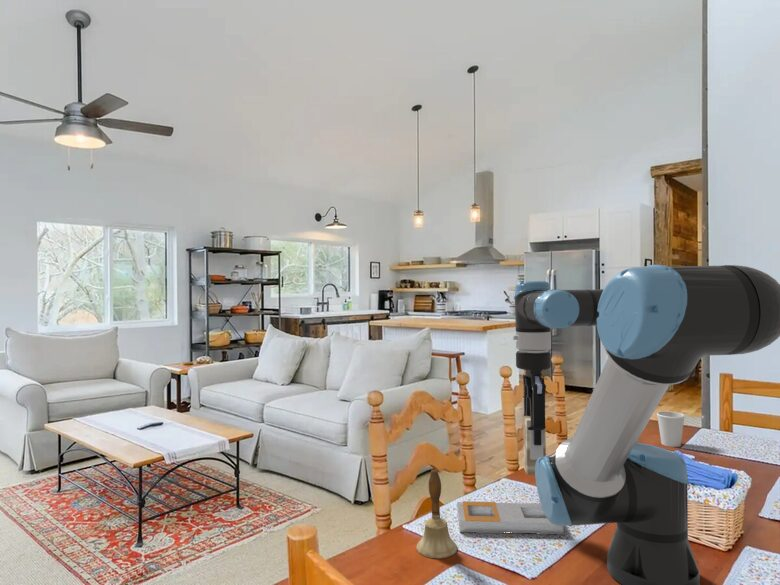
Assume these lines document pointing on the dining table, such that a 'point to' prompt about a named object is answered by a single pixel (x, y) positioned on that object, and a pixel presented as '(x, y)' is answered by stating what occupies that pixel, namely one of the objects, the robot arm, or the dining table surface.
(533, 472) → the peg
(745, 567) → the dining table surface
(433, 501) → the hand bell
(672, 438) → the dixie cup
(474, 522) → the grey board
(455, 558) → the dining table surface
